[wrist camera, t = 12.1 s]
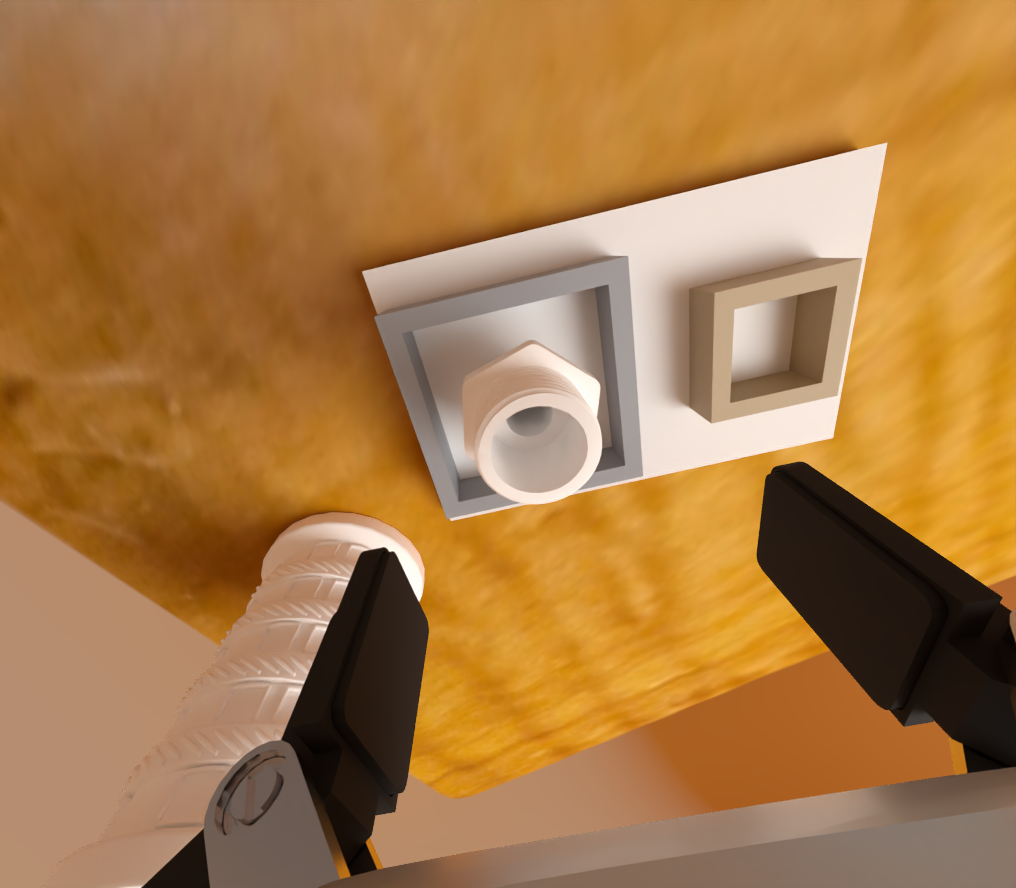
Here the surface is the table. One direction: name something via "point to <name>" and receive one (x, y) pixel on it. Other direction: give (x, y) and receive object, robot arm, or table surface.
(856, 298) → the board
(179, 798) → the white carved column
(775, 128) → the table surface
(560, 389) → the pipe fitting
